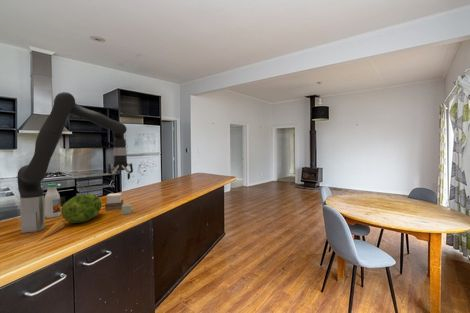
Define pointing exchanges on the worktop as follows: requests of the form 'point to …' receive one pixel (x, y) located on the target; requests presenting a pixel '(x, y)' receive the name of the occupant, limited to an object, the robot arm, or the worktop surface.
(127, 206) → the cube
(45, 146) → the robot arm
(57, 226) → the carrot
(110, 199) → the top block
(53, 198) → the milk bottle
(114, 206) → the base block
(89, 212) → the lettuce
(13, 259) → the worktop surface
